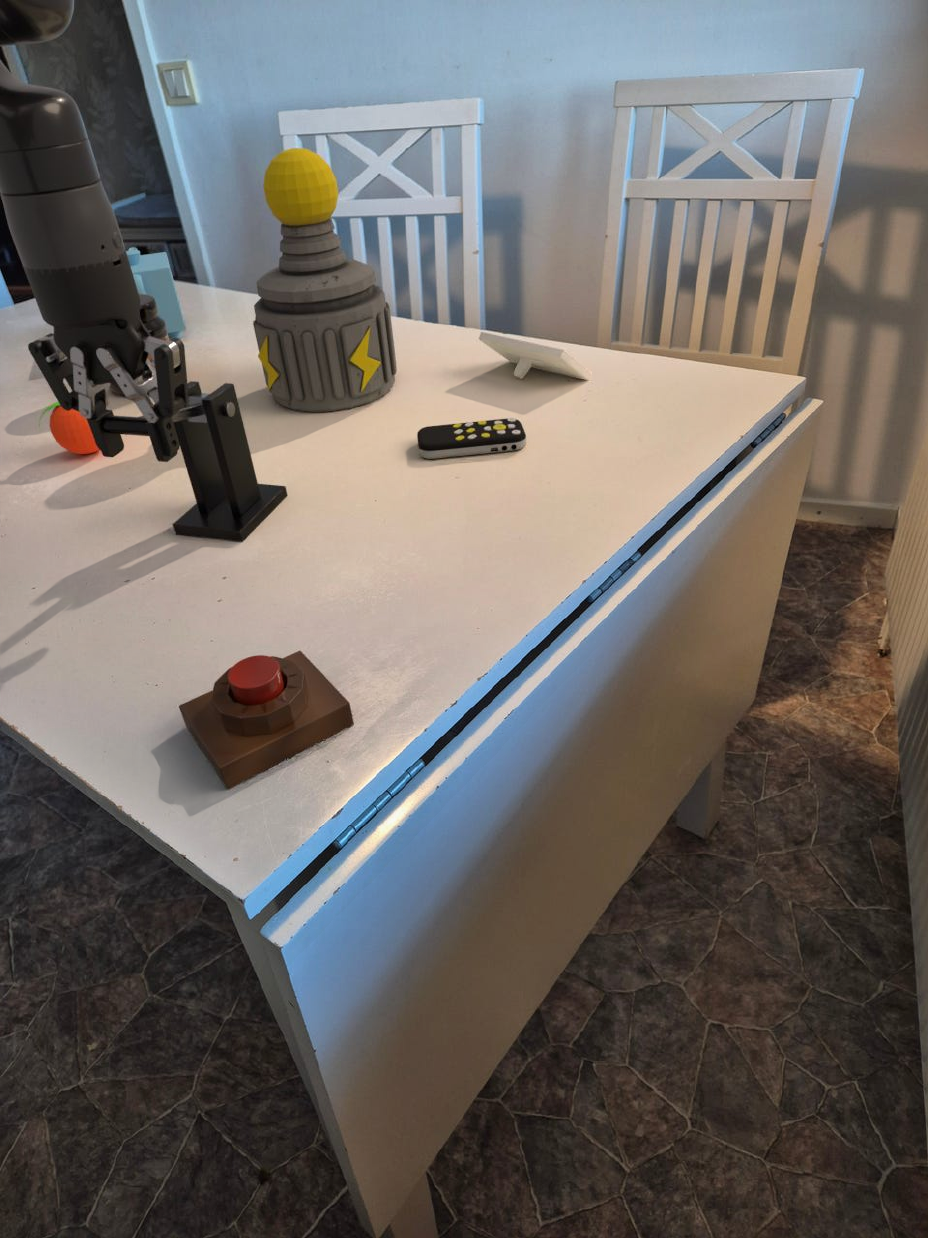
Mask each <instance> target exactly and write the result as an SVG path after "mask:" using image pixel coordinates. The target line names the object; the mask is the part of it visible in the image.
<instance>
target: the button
mask: <svg viewBox="0 0 928 1238" xmlns="http://www.w3.org/2000/svg"><path fill="white" fill-rule="evenodd" d="M231 667H232V668H231ZM231 667H230V668H231V669H230V671H229V674H228V680H229V683H230V686H231V689H232V692H233V695H234V698H235V700H236V701H237V702H239V703H240V704H242V705H245V706H251V705H260V704H264V703H266V702H269V701H271V700H273V699H275V698H277V697H278V696H279V695H280V694H281V692H282V691H283V688H284V681H283V677H282V674H281V670H280V666H279V663H278V662H277V661H276V660H275V659H274V658H272V657H270V655H264V654H260V655H258V654H257V655H252V656H248V657H245V658H243V659H241V660H239V661H237V662H236V663H235V664H234V665H233V666H231Z"/></svg>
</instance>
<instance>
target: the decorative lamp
mask: <svg viewBox="0 0 928 1238" xmlns="http://www.w3.org/2000/svg"><path fill="white" fill-rule="evenodd" d="M262 187H263V193H264V197H265V203H266V204H267V206H268V208H269V210H270V212H271V213H272V215H273V216H274V217H275V219H277V220H278V221H279V222H280V223H281V224H280V235H281V236H282V239H281V240H280V242H279V252H281V253H282V254H281V256H280V257H279V258H278V266H277V267H274V268H273V269H270V270H269V271H268V272H266V273H265V274H263V275H262V276H261V277H259V279H257V281H256V289H257V296H258V298H259V297H260V298H259V299H258V300H257V302H255V304H254V305H253V308H254V314H255V318H254V319H255V320H253V321H252V326H253V329H254V334H255V335H254V336H255V340H256V343H257V349H258V355H257V358H258V359H259V361H260V362H261V366H262V372H263V376H264V380H265V384H266V386H267V388H268V391H269V393H270V394H271V395H272V398H273V400H274V401H276V402H277V403H278V404H279V405H281V406H283V407H284V408H288V409H290V410H294V411H299V412H308V413H325V412H327V413H328V412H336V411H343V410H349V409H354V408H356V407H361V406H363V405H368V404H370V403H372V402H374V401H376V400H378V399H381V398H383V397H384V396H385V395H386V394H388V393H389V392H390V391H391V389H393V388H394V384H395V381H396V377H395V375H396V374H397V371H398V370H397V369H398V367H397V357H396V348H395V341H394V333H393V325H392V316H391V308H390V304H389V302H387V301H386V293H385V292H384V290H383V289H382V287H380V286H378V285H376V281H377V276H376V272H375V269H374V268H373V267H372V265H369V264H367V263H363V262H362V261H359V260H356V259H352V258H348V256H347V255H346V252H345V251H344V249H341V247H340V246H341V245H342V241H341V239H340V236H339V235H338V234H337V233H335V231H334V230H335V229H336V226H335V225H334V222H333V219H332V218H331V217H332V216H333V214H334V213H335V211H336V209H337V205H338V198H339V188H338V182H337V178H336V176H335V174H334V172H333V170H332V168H331V166H330V165H329V164H328V163H327V161H325V160H324V158H322V156H320V154H318V153H316V152H314V151H312V150H311V149H308V148H303V147H301V148H299V147H293V148H289V149H285V150H282V151H280V153H278V154H277V155H276V156H274V157H273V158H272V159H271V160H270V162H269V164H268V166H267V168H266V169H265V171H264V177H263V185H262Z"/></svg>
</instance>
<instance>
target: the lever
mask: <svg viewBox="0 0 928 1238" xmlns="http://www.w3.org/2000/svg"><path fill="white" fill-rule="evenodd" d="M209 394H210V393H203V392H202V393H201V394H197V395H192V396H188V398H189V404H188V405H187V406H186V407H184V408H182V409H181V410H179V411H178V412H176V413H175V414H174V415H173V416H172V420H173V423H174V422H178V421H182V420H186V419H188V422H199V423H208V422H207V418H206V414H205V411H204V407H203V403H202V399H204V398H205V397H206V396H208V395H209ZM147 422H148V421H147V420H146V419H145V417H144V416H143V415H141V416H126V415H114V416H113V415H106V416H104V417H103V419H102V422H101V425H102V429H103V430H104V432H106V433H110V434H121V435H125V436H140V437H149V434H148V431H147V428H146V424H145V423H147Z"/></svg>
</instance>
